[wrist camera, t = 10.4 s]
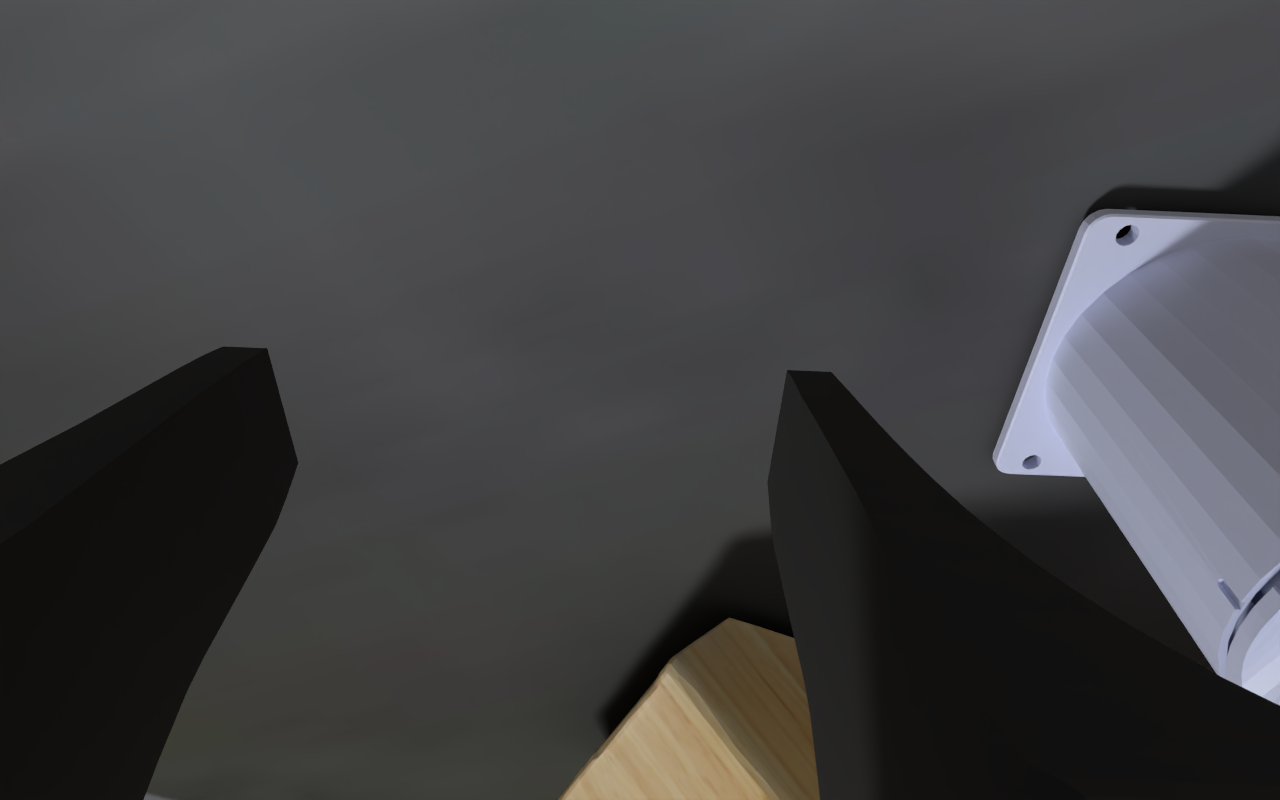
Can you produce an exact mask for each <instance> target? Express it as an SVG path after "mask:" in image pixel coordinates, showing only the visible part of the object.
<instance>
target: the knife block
mask: <svg viewBox="0 0 1280 800" xmlns="http://www.w3.org/2000/svg"><path fill="white" fill-rule="evenodd" d="M557 800H820V795H819V785H818V777H817V768H816V760H815V752H814V743H813V735H812V727H811V718H810V711H809V706H808V700H807V695H806V689H805V684H804V679H803V674H802V670H801V666H800V661H799V657H798V652H797V648H796V644H795V639H794V638H792V637H789V636H786V635H783V634H780V633H777V632H774V631H771V630H768V629H765V628H762V627H759V626H755V625H752V624H749V623H746V622H742V621H739V620H736V619H732V618H727V619H726V620H724V621H723V622H722V623H720V624H719V625H717V626H716V627H714V628H713V629H711V630H710V631H709V632H707V633H706V634H704V635H703V636H701V637H700V638H699V639H697V640H696V641H694V642H693V643H692V644H690V645H689V646H687V647H686V648H684V649H683V650H682V651H680V652H679V653H677V654H676V655H675V656H673V657H672V658H671V659H670V660H669V661H668V663H667V664H666V665H665V667H664V668H663V669H662V671H661V672H660V673H659V675H658V677H657V679H656V680H655V681H654V682H653V684H652V685H651V686H650V687H649V688H648V690H647V691H646V692H645V693H644V695H643V696H642V697H641V698H640V699H639V701H638V702H637V703H636V704H635V706H634V707H633V708H632V709H631V710H630V712H629V713H628V714H627V715H626V717H625V718H624V719H623V720H622V721H621V723H620V724H619V725H618V726H617V728H616V729H615V730H614V731H613V732H612V734H611V735H610V736H609V737H608V739H607V740H606V741H605V742H604V743H603V745H602V746H601V747H600V748H599V749H598V750H597V751H596V752H595V753H594V754H593V756H592V757H591V758H590V759H589V760H588V762H587V763H586V764H585V765H584V767H583V768H582V769H581V770H580V772H579V773H578V774H577V775H576V776H575V778H574V779H573V780H572V782H571V783H570V784H569V786H568V787H567V788H566V790H565V791H564V792H563V794H562V795H561V796H560V797H559V798H558V799H557Z"/></svg>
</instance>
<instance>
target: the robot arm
mask: <svg viewBox="0 0 1280 800" xmlns="http://www.w3.org/2000/svg"><path fill="white" fill-rule="evenodd" d="M1128 225H1131V229H1130V231H1129V232H1128V234H1127V235H1125V236H1124V237H1122V238H1118V239H1116V235H1117V233H1118V232H1119V230H1120V229H1122V228H1123V227H1125V226H1128ZM1032 455H1035V456H1034V457H1033V458H1031V459H1029V460H1025V461H1024V459H1025V458H1027V457H1029V456H1032ZM993 460H994V463H995V465H996V466H997V468H998V470H1000V471H1001V472H1003V473H1008V474H1028V475H1053V476H1078V477H1086V478H1087V480H1088V481H1089V483H1090V484H1091V486H1092V487H1093V489H1094V490H1095V492H1096V493H1097V495H1098V496H1099V498H1100V499H1101V501H1102V502H1103V504H1104V505H1105V507H1106V508H1107V510H1108V511H1109V513H1110V514H1111V516H1112V518H1113V519H1114V521H1115V522H1116V524H1117V525H1118V527H1119V528H1120V530H1121V531H1122V533H1123V534H1124V536H1125V537H1126V539H1127V540H1128V542H1129V543H1130V545H1131V546H1132V548H1133V549H1134V551H1135V552H1136V554H1137V555H1138V557H1139V558H1140V560H1141V561H1142V563H1143V564H1144V566H1145V567H1146V569H1147V570H1148V572H1149V573H1150V575H1151V576H1152V578H1153V579H1154V581H1155V582H1156V584H1157V585H1158V587H1159V588H1160V590H1161V591H1162V593H1163V594H1164V596H1165V597H1166V599H1167V600H1168V602H1169V603H1170V605H1171V606H1172V608H1173V609H1174V611H1175V612H1176V614H1177V615H1178V617H1179V618H1180V620H1181V621H1182V623H1183V624H1184V626H1185V627H1186V629H1187V630H1188V632H1189V633H1190V635H1191V636H1192V638H1193V639H1194V641H1195V642H1196V644H1197V645H1198V647H1199V648H1200V650H1201V651H1202V653H1203V654H1204V656H1205V657H1206V659H1207V660H1208V662H1209V663H1210V665H1211V666H1212V668H1213V669H1214V671H1215V672H1216V674H1215V673H1213V672H1211V671H1209V670H1207V669H1206V668H1204V667H1202V666H1200V665H1199V664H1197V663H1195V662H1193V661H1191V660H1190V659H1188V658H1186V657H1184V656H1182V655H1181V654H1179V653H1177V652H1175V651H1173V650H1172V649H1170V648H1168V647H1166V646H1164V645H1163V644H1161V643H1159V642H1157V641H1155V640H1154V639H1152V638H1150V637H1148V636H1147V635H1145V634H1143V633H1142V632H1140V631H1138V630H1137V629H1135V628H1133V627H1132V626H1130V625H1128V624H1127V623H1125V622H1123V621H1122V620H1120V619H1118V618H1117V617H1115V616H1113V615H1112V614H1110V613H1109V612H1107V611H1106V610H1104V609H1102V608H1101V607H1099V606H1098V605H1096V604H1095V603H1093V602H1092V601H1090V600H1089V599H1087V598H1086V597H1084V596H1083V595H1081V594H1080V593H1078V592H1076V591H1075V590H1073V589H1072V588H1070V587H1069V586H1067V585H1066V584H1064V583H1063V582H1061V581H1060V580H1058V579H1057V578H1055V577H1054V576H1053V575H1051V574H1050V573H1048V572H1047V571H1045V570H1044V569H1043V568H1041V567H1040V566H1038V565H1037V564H1035V563H1034V562H1033V561H1031V560H1030V559H1029V558H1027V557H1026V556H1025V555H1023V554H1022V553H1021V552H1020V551H1018V550H1017V549H1016V548H1014V547H1013V546H1012V545H1010V544H1009V543H1008V542H1007V541H1005V540H1004V539H1003V538H1001V537H1000V536H999V535H997V534H996V533H995V532H993V531H992V530H991V529H990V528H988V527H987V526H986V525H985V524H983V523H982V522H981V521H980V520H979V519H977V518H976V517H975V516H974V515H973V514H971V513H970V512H969V511H968V510H967V509H966V508H965V507H963V506H962V505H961V504H960V503H959V502H958V501H957V500H956V499H955V498H953V497H952V496H951V495H950V494H949V493H948V492H947V491H946V490H945V489H943V488H942V487H941V486H940V485H939V484H938V483H937V482H936V481H935V480H933V479H932V478H931V477H930V476H929V475H928V474H927V473H926V472H925V471H924V470H923V469H922V468H921V467H920V466H919V465H918V464H917V463H916V462H915V461H914V460H913V459H912V458H911V457H910V456H909V455H908V454H907V453H906V452H905V451H904V450H903V449H902V448H901V447H900V446H899V445H898V444H897V443H896V442H895V441H894V440H893V439H892V438H891V437H890V436H889V435H888V434H887V432H886V431H885V430H884V429H883V428H882V427H881V426H880V425H879V424H878V423H877V422H876V421H875V420H874V418H873V417H872V416H871V415H870V414H869V413H868V412H867V411H866V410H865V409H864V408H863V406H862V405H861V404H860V403H859V402H858V401H857V400H856V399H855V398H854V396H853V395H852V394H851V393H850V392H849V391H848V390H847V389H846V388H845V386H844V385H843V384H842V383H841V382H840V381H839V380H838V379H837V378H836V377H835V376H834V375H833V374H832V373H831V372H817V371H793V370H787V374H786V380H785V386H784V391H783V397H782V403H781V409H780V414H779V420H778V426H777V431H776V437H775V443H774V448H773V454H772V460H771V466H770V471H769V477H768V492H769V505H770V517H771V526H772V536H773V545H774V550H775V554H776V559H777V564H778V568H779V573H780V577H781V582H782V586H783V591H784V595H785V600H786V604H787V608H788V613H789V617H790V622H791V626H792V630H793V635H794V639H795V644H796V648H797V652H798V657H799V661H800V666H801V670H802V674H803V679H804V684H805V689H806V695H807V700H808V706H809V711H810V718H811V727H812V735H813V743H814V752H815V760H816V768H817V777H818V785H819V795H820V800H1280V216H1260V215H1237V214H1215V213H1192V212H1169V211H1147V210H1124V209H1103V210H1098V211H1096V212H1094V213H1092V214H1090V215H1089V216H1088V217H1087V218H1086V219H1085V220H1084V221H1083V222H1082V224H1081V226H1080V227H1079V230H1078V232H1077V235H1076V238H1075V240H1074V243H1073V245H1072V248H1071V251H1070V253H1069V256H1068V259H1067V261H1066V264H1065V266H1064V269H1063V272H1062V274H1061V277H1060V279H1059V282H1058V285H1057V287H1056V290H1055V293H1054V295H1053V298H1052V300H1051V303H1050V306H1049V308H1048V311H1047V314H1046V316H1045V319H1044V321H1043V324H1042V327H1041V329H1040V332H1039V334H1038V337H1037V340H1036V342H1035V345H1034V348H1033V350H1032V353H1031V355H1030V358H1029V361H1028V363H1027V366H1026V369H1025V371H1024V374H1023V376H1022V379H1021V382H1020V384H1019V387H1018V389H1017V392H1016V395H1015V397H1014V400H1013V403H1012V405H1011V408H1010V410H1009V413H1008V416H1007V418H1006V421H1005V423H1004V426H1003V429H1002V431H1001V434H1000V437H999V439H998V442H997V444H996V447H995V450H994V452H993ZM297 465H298V461H297V457H296V453H295V449H294V446H293V442H292V438H291V435H290V431H289V427H288V424H287V420H286V416H285V413H284V409H283V405H282V402H281V398H280V394H279V391H278V387H277V383H276V379H275V376H274V372H273V368H272V365H271V361H270V357H269V354H268V350H267V348H244V347H221V348H219V349H216V350H214V351H212V352H210V353H207V354H205V355H203V356H201V357H199V358H197V359H196V360H194V361H192V362H190V363H188V364H186V365H184V366H182V367H180V368H179V369H177V370H175V371H173V372H171V373H169V374H168V375H166V376H164V377H162V378H160V379H159V380H157V381H155V382H153V383H152V384H150V385H148V386H146V387H144V388H143V389H141V390H139V391H137V392H136V393H134V394H132V395H130V396H128V397H127V398H125V399H123V400H121V401H119V402H118V403H116V404H114V405H112V406H111V407H109V408H107V409H105V410H103V411H102V412H100V413H98V414H96V415H94V416H93V417H91V418H89V419H87V420H85V421H84V422H82V423H80V424H78V425H76V426H74V427H72V428H70V429H68V430H66V431H64V432H63V433H61V434H59V435H57V436H55V437H53V438H51V439H49V440H47V441H45V442H43V443H41V444H39V445H37V446H35V447H34V448H32V449H30V450H28V451H26V452H24V453H22V454H20V455H18V456H16V457H14V458H12V459H10V460H8V461H6V462H5V463H3V464H1V465H0V800H143V799H144V797H145V794H146V791H147V789H148V786H149V784H150V781H151V778H152V776H153V773H154V770H155V768H156V765H157V763H158V760H159V757H160V755H161V753H162V750H163V748H164V745H165V743H166V741H167V738H168V736H169V733H170V731H171V728H172V726H173V724H174V721H175V719H176V716H177V714H178V712H179V709H180V707H181V704H182V702H183V699H184V697H185V695H186V692H187V690H188V688H189V686H190V684H191V682H192V680H193V678H194V676H195V674H196V672H197V670H198V668H199V666H200V664H201V662H202V660H203V658H204V656H205V654H206V652H207V650H208V649H209V647H210V645H211V643H212V641H213V640H214V638H215V636H216V634H217V632H218V630H219V629H220V627H221V625H222V623H223V621H224V619H225V618H226V616H227V614H228V612H229V610H230V609H231V607H232V605H233V603H234V601H235V599H236V598H237V596H238V594H239V592H240V590H241V589H242V587H243V585H244V583H245V581H246V579H247V578H248V576H249V574H250V572H251V570H252V568H253V567H254V565H255V563H256V561H257V559H258V557H259V555H260V554H261V552H262V550H263V548H264V546H265V544H266V542H267V540H268V539H269V537H270V535H271V533H272V531H273V529H274V527H275V525H276V523H277V520H278V518H279V515H280V513H281V510H282V507H283V505H284V502H285V500H286V497H287V494H288V491H289V488H290V485H291V482H292V479H293V477H294V474H295V471H296V468H297Z"/></svg>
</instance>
